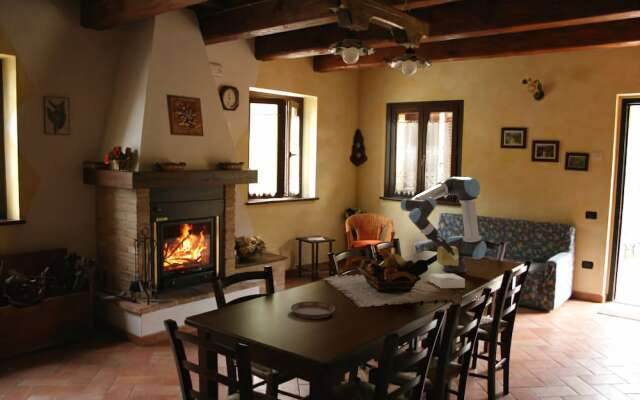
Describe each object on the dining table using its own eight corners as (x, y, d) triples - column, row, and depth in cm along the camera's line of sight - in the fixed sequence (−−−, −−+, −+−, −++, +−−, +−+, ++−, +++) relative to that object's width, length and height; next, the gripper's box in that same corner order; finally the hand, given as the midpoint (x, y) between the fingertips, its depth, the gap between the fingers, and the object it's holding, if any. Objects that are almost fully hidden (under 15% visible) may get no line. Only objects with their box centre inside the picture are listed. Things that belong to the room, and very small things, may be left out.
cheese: (458, 266, 310) (459, 249, 309) (440, 265, 309) (441, 248, 309) (454, 262, 320) (455, 246, 319) (436, 261, 320) (437, 245, 319)
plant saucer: (319, 323, 236) (319, 316, 236) (281, 315, 247) (282, 308, 247) (342, 312, 254) (342, 306, 254) (306, 305, 265) (306, 298, 264)
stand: (452, 281, 325) (453, 273, 324) (464, 287, 310) (465, 279, 310) (429, 282, 321) (430, 274, 321) (440, 288, 307) (441, 279, 306)
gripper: (416, 232, 321) (439, 257, 326) (433, 238, 298) (457, 265, 303) (425, 223, 322) (447, 248, 327) (442, 229, 299) (466, 256, 304)
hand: (452, 256), depth 315 cm, fingers closed on cheese, 11 cm apart
